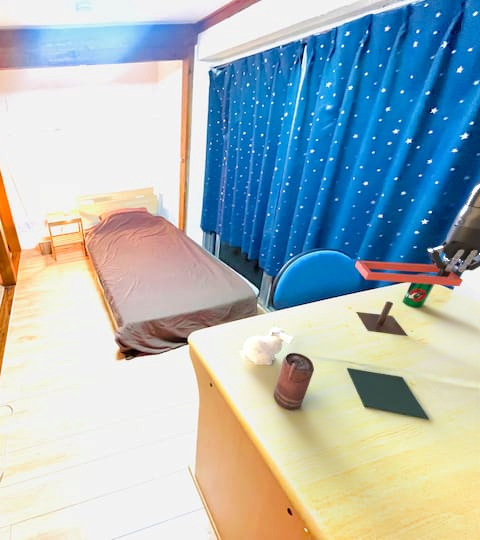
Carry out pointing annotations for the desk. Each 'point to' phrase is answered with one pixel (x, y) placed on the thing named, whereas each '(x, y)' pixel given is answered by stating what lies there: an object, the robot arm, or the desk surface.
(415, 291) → the soda can
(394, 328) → the stand
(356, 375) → the mat
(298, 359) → the can
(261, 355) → the rabbit
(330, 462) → the desk surface
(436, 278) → the loop
